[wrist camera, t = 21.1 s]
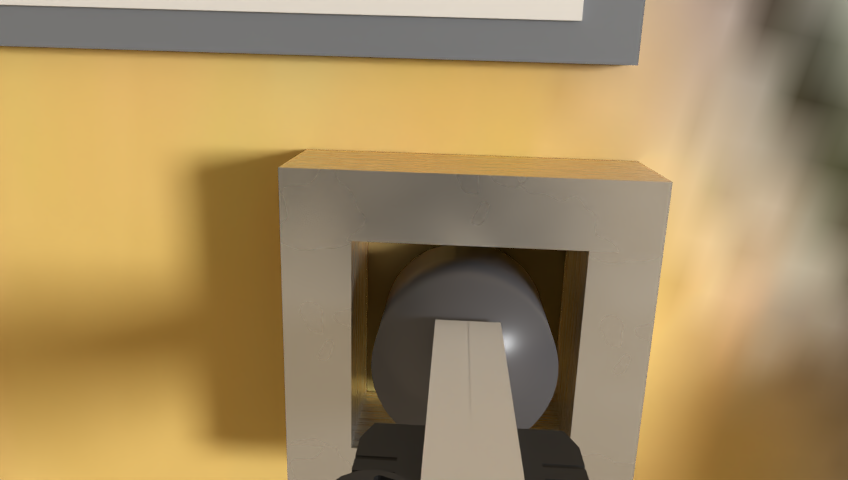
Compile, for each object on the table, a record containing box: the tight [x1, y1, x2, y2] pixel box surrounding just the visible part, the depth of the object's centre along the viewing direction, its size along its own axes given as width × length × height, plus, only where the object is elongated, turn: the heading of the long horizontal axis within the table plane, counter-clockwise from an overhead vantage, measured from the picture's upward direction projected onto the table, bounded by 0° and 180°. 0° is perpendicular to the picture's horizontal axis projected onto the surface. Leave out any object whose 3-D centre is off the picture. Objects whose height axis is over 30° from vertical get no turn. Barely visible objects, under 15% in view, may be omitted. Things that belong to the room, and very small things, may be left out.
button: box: [371, 245, 558, 429], centre depth 17 cm, size 4×4×3 cm
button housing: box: [278, 149, 672, 480], centre depth 18 cm, size 9×9×3 cm
